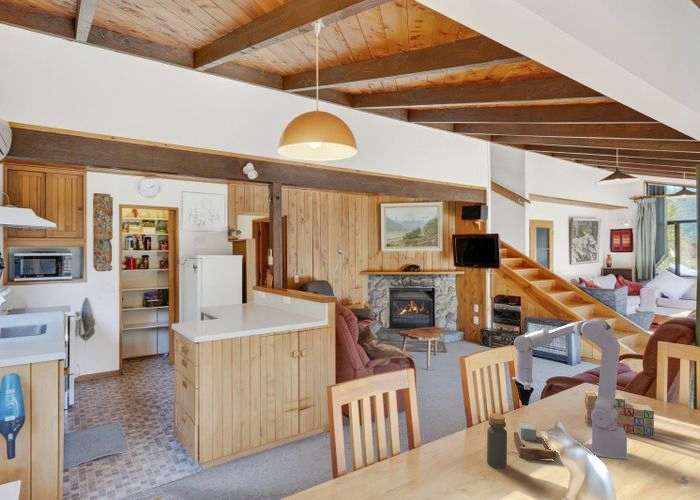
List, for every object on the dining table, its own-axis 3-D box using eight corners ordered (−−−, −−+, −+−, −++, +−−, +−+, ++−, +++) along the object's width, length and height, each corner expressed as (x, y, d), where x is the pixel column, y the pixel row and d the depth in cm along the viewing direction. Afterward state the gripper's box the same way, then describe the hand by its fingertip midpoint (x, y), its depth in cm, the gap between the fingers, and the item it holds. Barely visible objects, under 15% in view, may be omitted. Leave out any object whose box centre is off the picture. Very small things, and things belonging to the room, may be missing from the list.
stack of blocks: (648, 429, 157) (649, 397, 157) (653, 436, 151) (654, 402, 151) (584, 420, 165) (584, 389, 165) (586, 426, 159) (587, 394, 159)
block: (533, 435, 151) (533, 424, 151) (536, 441, 147) (536, 429, 147) (518, 433, 153) (518, 422, 153) (521, 439, 148) (521, 428, 148)
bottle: (497, 470, 126) (497, 421, 126) (482, 461, 131) (483, 414, 131) (510, 466, 129) (511, 417, 129) (496, 457, 134) (496, 411, 134)
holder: (545, 444, 144) (545, 434, 144) (554, 461, 132) (555, 451, 132) (513, 440, 146) (514, 431, 146) (519, 457, 134) (520, 447, 134)
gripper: (509, 361, 165) (509, 395, 165) (515, 371, 151) (515, 408, 151) (528, 362, 164) (528, 396, 164) (536, 372, 150) (536, 410, 150)
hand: (523, 402), depth 157 cm, fingers open, 4 cm apart
